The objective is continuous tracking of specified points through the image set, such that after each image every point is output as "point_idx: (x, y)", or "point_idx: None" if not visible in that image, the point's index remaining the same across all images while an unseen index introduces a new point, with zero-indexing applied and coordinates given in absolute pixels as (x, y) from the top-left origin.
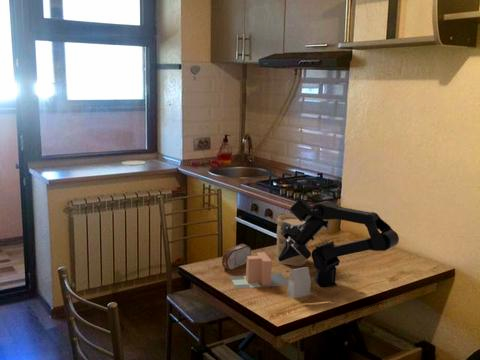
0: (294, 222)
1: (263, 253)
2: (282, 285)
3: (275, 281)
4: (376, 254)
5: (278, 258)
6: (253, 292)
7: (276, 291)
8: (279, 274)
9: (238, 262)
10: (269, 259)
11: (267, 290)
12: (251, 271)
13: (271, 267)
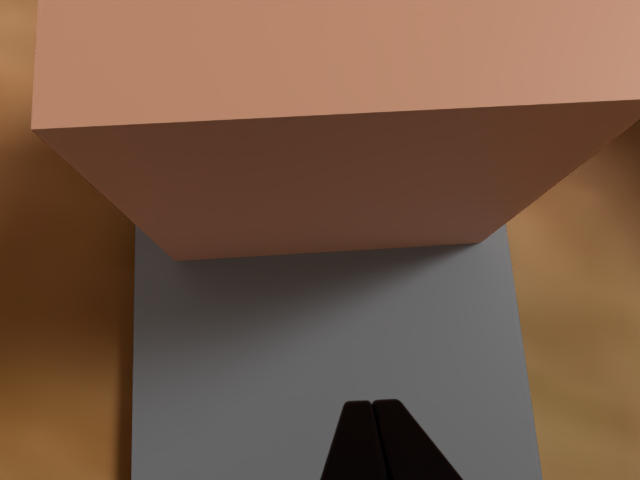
0: None
1: (571, 56)
2: (132, 407)
3: (271, 347)
4: None
5: (383, 409)
6: None
7: (34, 300)
8: (496, 465)
9: None
10: (140, 98)
11: (84, 205)
12: None
13: (95, 187)
